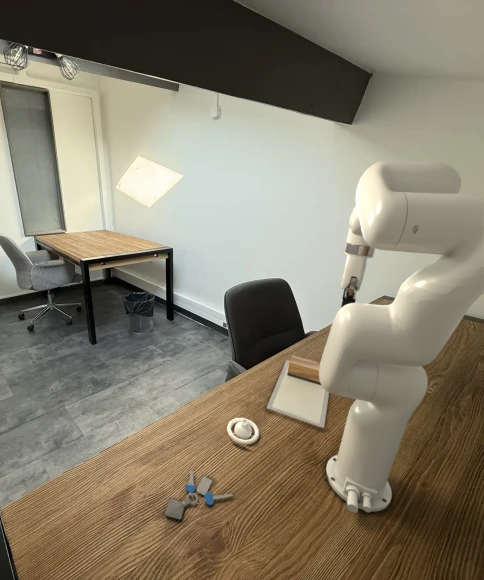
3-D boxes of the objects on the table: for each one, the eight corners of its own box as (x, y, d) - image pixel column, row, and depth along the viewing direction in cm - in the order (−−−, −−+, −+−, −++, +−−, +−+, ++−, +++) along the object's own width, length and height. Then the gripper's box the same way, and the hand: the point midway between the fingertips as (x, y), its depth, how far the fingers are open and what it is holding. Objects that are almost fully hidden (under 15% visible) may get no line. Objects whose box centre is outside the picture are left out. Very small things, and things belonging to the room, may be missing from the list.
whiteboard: (323, 431, 79) (324, 428, 79) (265, 410, 85) (266, 407, 85) (331, 374, 103) (332, 372, 102) (286, 362, 109) (286, 359, 109)
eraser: (322, 386, 95) (325, 372, 94) (287, 375, 100) (289, 362, 98) (324, 377, 99) (326, 364, 98) (289, 367, 104) (292, 355, 102)
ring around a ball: (247, 420, 82) (220, 428, 79) (249, 403, 79) (222, 411, 76) (264, 443, 75) (236, 453, 72) (267, 426, 73) (239, 435, 70)
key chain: (168, 525, 56) (168, 522, 56) (155, 486, 63) (155, 483, 63) (233, 497, 61) (233, 494, 61) (215, 464, 68) (215, 461, 68)
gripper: (346, 243, 95) (335, 294, 101) (343, 253, 80) (331, 312, 86) (373, 246, 92) (360, 298, 98) (376, 257, 77) (361, 318, 83)
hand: (347, 305), depth 92 cm, fingers open, 9 cm apart
